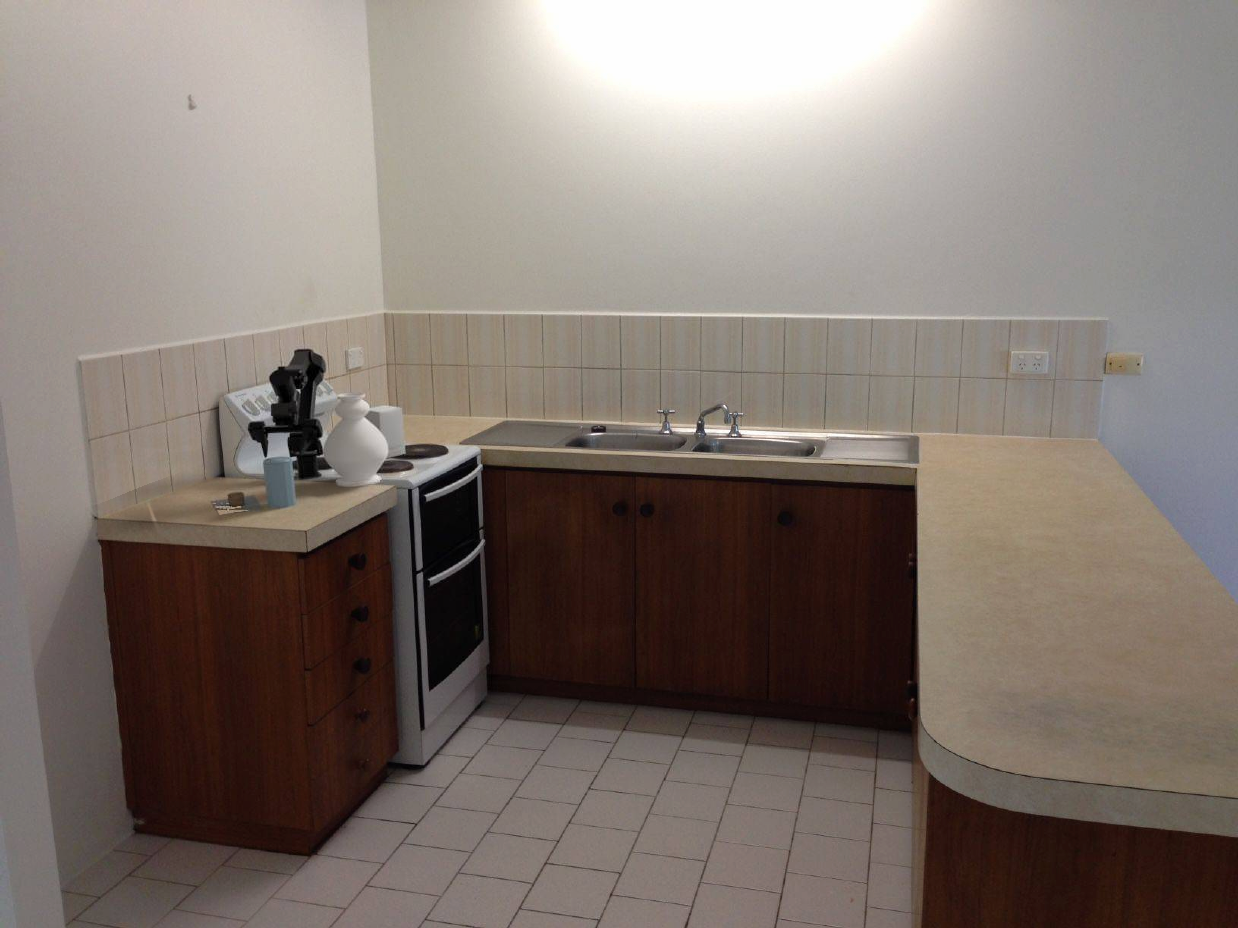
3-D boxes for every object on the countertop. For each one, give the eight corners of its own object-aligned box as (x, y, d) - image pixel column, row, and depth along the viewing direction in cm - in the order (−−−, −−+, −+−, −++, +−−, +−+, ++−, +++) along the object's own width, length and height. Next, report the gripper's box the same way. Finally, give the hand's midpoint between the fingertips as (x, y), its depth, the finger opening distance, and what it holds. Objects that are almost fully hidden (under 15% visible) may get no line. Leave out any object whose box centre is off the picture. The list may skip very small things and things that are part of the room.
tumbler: (266, 504, 287) (261, 458, 284) (293, 501, 290) (288, 455, 287) (270, 511, 281) (265, 464, 278) (298, 507, 284) (293, 460, 281)
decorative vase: (314, 483, 308) (305, 396, 302) (366, 470, 321) (359, 387, 315) (350, 492, 297) (342, 402, 291) (403, 479, 309) (396, 392, 304)
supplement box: (406, 454, 341) (403, 407, 338) (382, 459, 335) (378, 412, 331) (389, 450, 347) (385, 404, 344) (365, 455, 341) (361, 408, 337)
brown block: (227, 504, 287) (226, 493, 286) (243, 502, 288) (242, 491, 288) (230, 507, 283) (228, 496, 282) (245, 505, 285) (244, 494, 284)
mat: (211, 503, 290) (210, 501, 290) (253, 496, 295) (253, 495, 295) (219, 517, 276) (219, 515, 276) (263, 510, 281) (263, 508, 281)
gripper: (245, 392, 289) (238, 441, 281) (316, 389, 290) (312, 437, 282) (256, 415, 298) (250, 463, 290) (324, 412, 300) (320, 460, 291)
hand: (282, 456), depth 288 cm, fingers open, 9 cm apart
